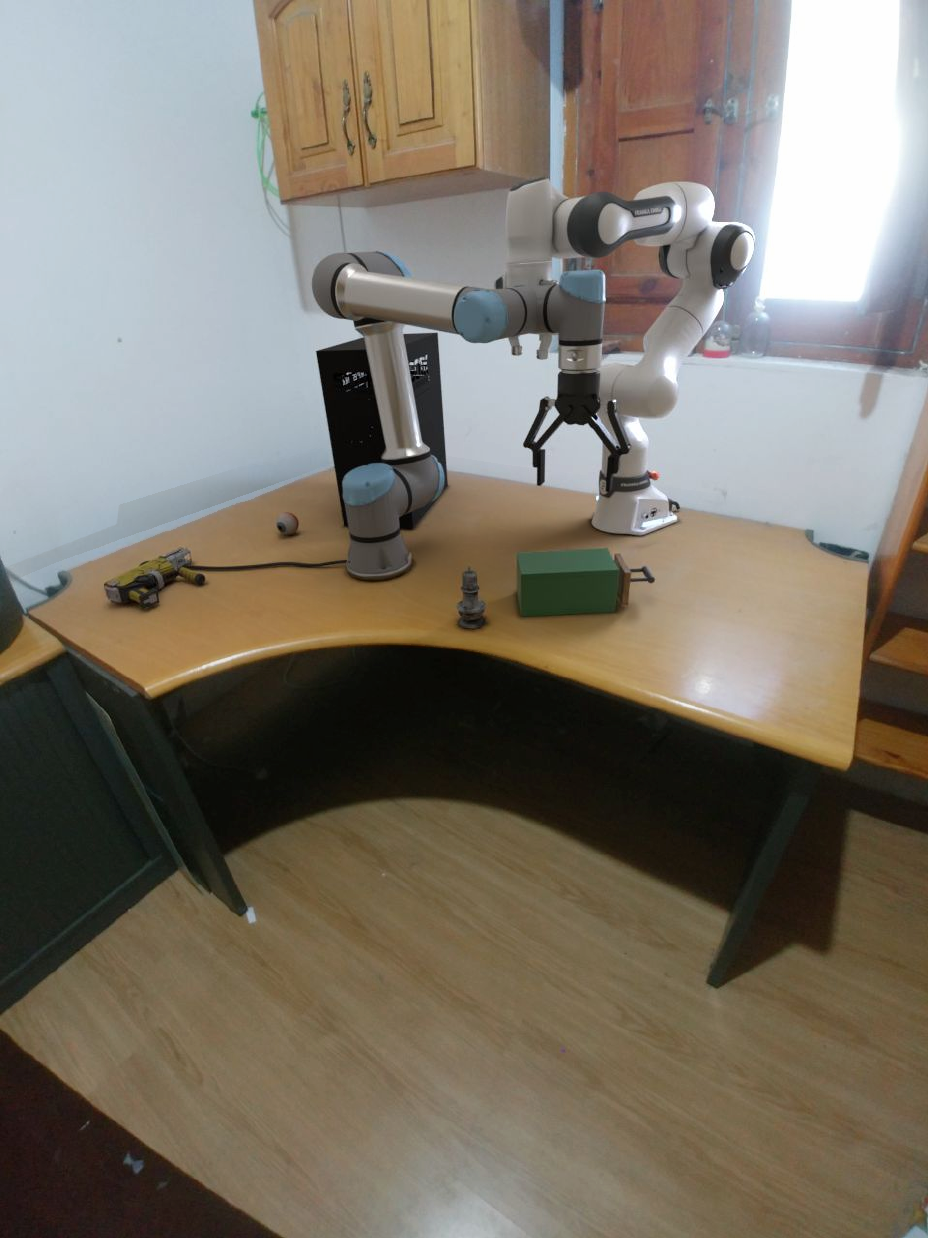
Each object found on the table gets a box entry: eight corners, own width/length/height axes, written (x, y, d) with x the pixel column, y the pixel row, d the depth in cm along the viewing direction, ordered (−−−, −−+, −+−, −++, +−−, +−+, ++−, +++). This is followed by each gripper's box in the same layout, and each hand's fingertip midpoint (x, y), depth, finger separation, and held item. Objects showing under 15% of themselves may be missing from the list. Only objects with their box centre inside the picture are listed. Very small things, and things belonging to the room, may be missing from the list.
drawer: (643, 583, 127) (646, 551, 124) (655, 604, 119) (659, 571, 116) (535, 588, 128) (536, 557, 124) (540, 609, 120) (541, 576, 116)
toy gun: (228, 555, 146) (178, 544, 150) (153, 596, 126) (97, 583, 130) (231, 573, 149) (181, 562, 153) (157, 616, 129) (102, 602, 132)
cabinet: (604, 588, 128) (607, 547, 124) (615, 612, 119) (618, 569, 115) (516, 592, 129) (516, 552, 124) (521, 616, 120) (520, 574, 115)
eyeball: (273, 537, 164) (268, 516, 161) (287, 528, 169) (282, 508, 166) (291, 539, 161) (286, 518, 158) (305, 530, 166) (301, 510, 163)
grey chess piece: (484, 630, 116) (481, 573, 110) (454, 628, 117) (450, 572, 111) (489, 614, 121) (487, 560, 115) (460, 613, 122) (457, 559, 116)
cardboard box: (413, 528, 164) (395, 348, 141) (344, 526, 168) (315, 350, 146) (447, 485, 195) (437, 332, 173) (388, 484, 200) (371, 334, 177)
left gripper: (505, 372, 109) (507, 486, 119) (647, 374, 99) (635, 498, 110) (520, 366, 115) (520, 475, 125) (655, 367, 105) (642, 486, 116)
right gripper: (574, 278, 110) (572, 359, 117) (515, 280, 126) (515, 351, 133) (546, 280, 108) (545, 363, 115) (489, 282, 124) (491, 354, 131)
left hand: (574, 486), depth 118 cm, fingers open, 13 cm apart
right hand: (529, 357), depth 124 cm, fingers open, 8 cm apart
